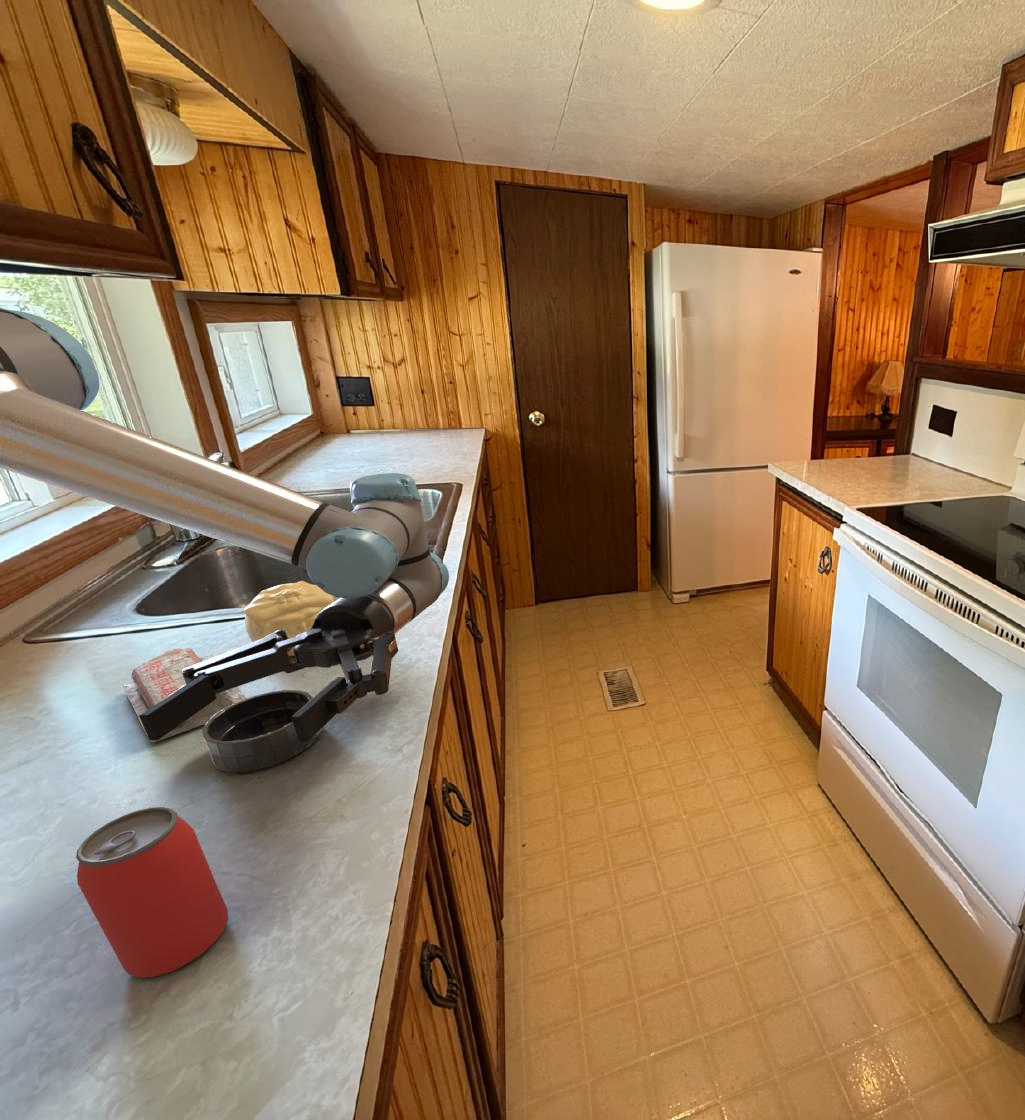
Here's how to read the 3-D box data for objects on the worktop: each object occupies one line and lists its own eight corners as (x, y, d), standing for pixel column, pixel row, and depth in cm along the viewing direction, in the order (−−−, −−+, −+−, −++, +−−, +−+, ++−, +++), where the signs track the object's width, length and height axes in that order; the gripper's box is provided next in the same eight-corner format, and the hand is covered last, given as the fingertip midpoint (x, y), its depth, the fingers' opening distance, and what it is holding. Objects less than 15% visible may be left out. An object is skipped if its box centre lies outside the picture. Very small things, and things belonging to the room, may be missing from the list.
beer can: (106, 964, 48) (45, 853, 44) (200, 897, 54) (154, 792, 50) (156, 996, 46) (97, 881, 42) (248, 922, 52) (205, 814, 48)
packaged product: (241, 678, 78) (137, 713, 71) (252, 709, 80) (151, 747, 73) (205, 635, 89) (111, 662, 82) (215, 663, 91) (124, 692, 83)
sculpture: (267, 674, 88) (245, 608, 84) (246, 647, 95) (225, 584, 91) (354, 645, 96) (338, 584, 92) (329, 622, 103) (313, 564, 99)
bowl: (189, 775, 68) (176, 743, 67) (260, 718, 78) (250, 689, 77) (282, 776, 68) (271, 744, 67) (341, 719, 78) (332, 690, 77)
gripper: (470, 648, 75) (371, 763, 55) (271, 646, 75) (101, 761, 55) (460, 593, 72) (352, 694, 53) (254, 591, 72) (68, 692, 53)
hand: (223, 729), depth 54 cm, fingers open, 13 cm apart
